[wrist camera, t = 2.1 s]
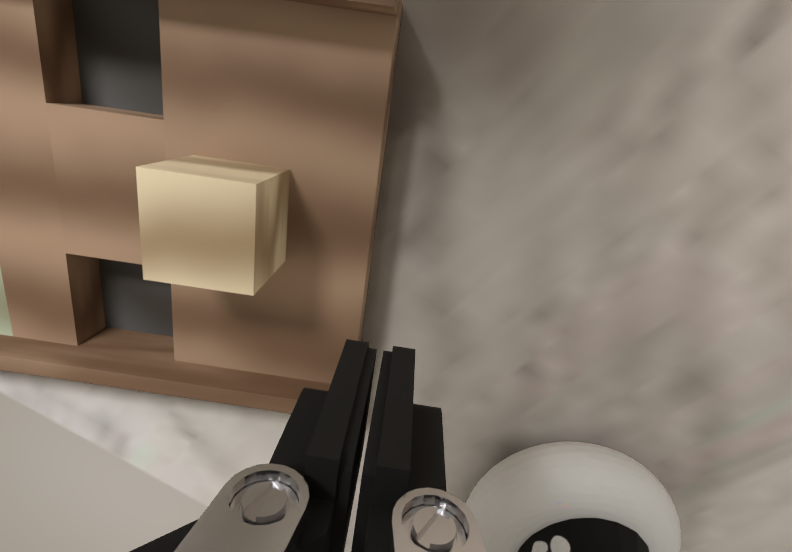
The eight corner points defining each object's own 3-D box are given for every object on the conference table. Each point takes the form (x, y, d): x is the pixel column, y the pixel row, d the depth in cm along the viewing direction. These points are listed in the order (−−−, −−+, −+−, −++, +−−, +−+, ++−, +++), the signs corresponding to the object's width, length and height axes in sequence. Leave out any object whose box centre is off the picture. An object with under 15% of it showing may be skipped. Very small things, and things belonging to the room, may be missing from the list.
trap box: (-139, -73, 23) (-282, -119, 18) (402, 5, 23) (397, -22, 18) (-48, 313, 31) (-133, 350, 26) (357, 373, 31) (345, 421, 26)
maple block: (193, 154, 23) (135, 166, 18) (290, 169, 23) (256, 184, 18) (196, 247, 25) (143, 279, 20) (285, 260, 25) (253, 295, 20)
